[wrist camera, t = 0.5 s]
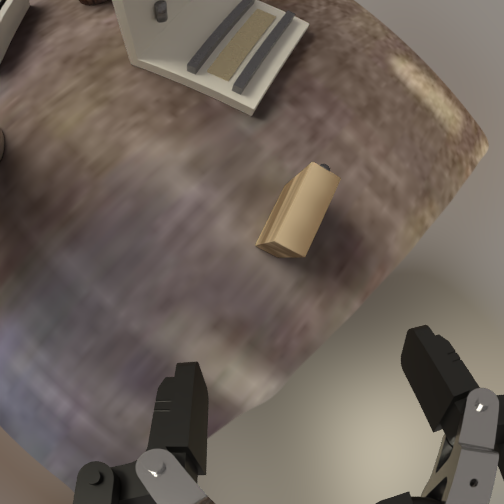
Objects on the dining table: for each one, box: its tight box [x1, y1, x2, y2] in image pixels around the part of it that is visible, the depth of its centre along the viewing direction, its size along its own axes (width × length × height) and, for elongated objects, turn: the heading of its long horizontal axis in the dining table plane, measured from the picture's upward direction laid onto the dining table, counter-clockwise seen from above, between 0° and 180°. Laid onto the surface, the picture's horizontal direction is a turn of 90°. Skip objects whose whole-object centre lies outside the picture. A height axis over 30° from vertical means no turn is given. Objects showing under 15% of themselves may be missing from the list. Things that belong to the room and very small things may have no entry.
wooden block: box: [255, 162, 341, 258], centre depth 32 cm, size 3×9×10 cm, turn 153°
